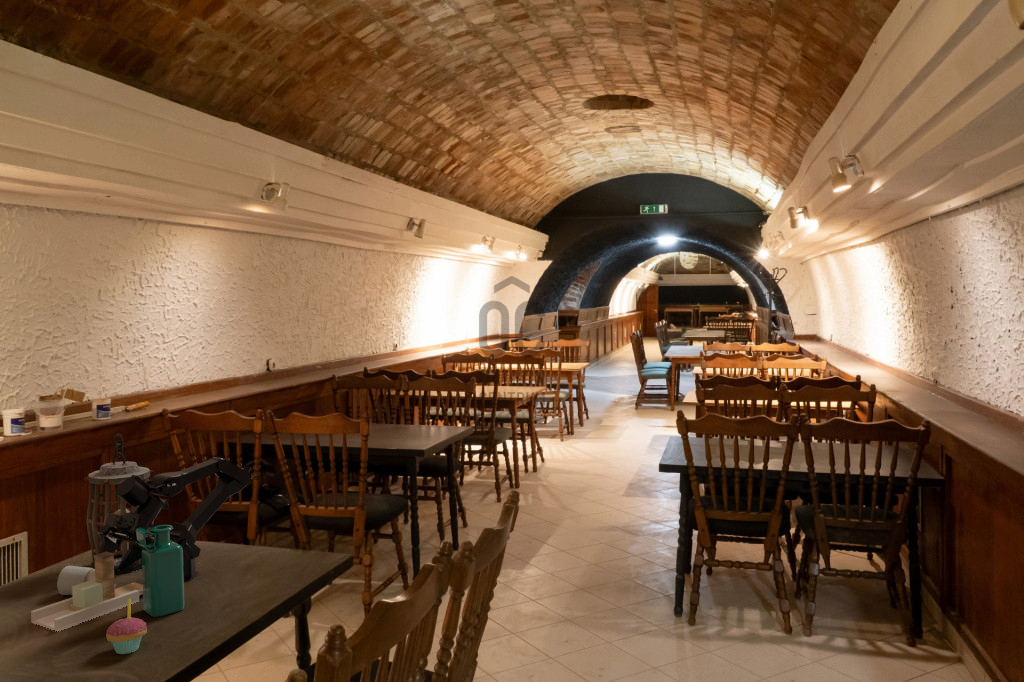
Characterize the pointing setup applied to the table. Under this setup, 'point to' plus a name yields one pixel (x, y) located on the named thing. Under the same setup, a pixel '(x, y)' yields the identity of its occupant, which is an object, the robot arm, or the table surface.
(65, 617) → the lane board
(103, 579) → the wooden stair steps
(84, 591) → the block
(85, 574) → the ceramic mug
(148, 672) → the table surface
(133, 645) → the cupcake
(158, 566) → the green bottle
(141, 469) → the lantern
